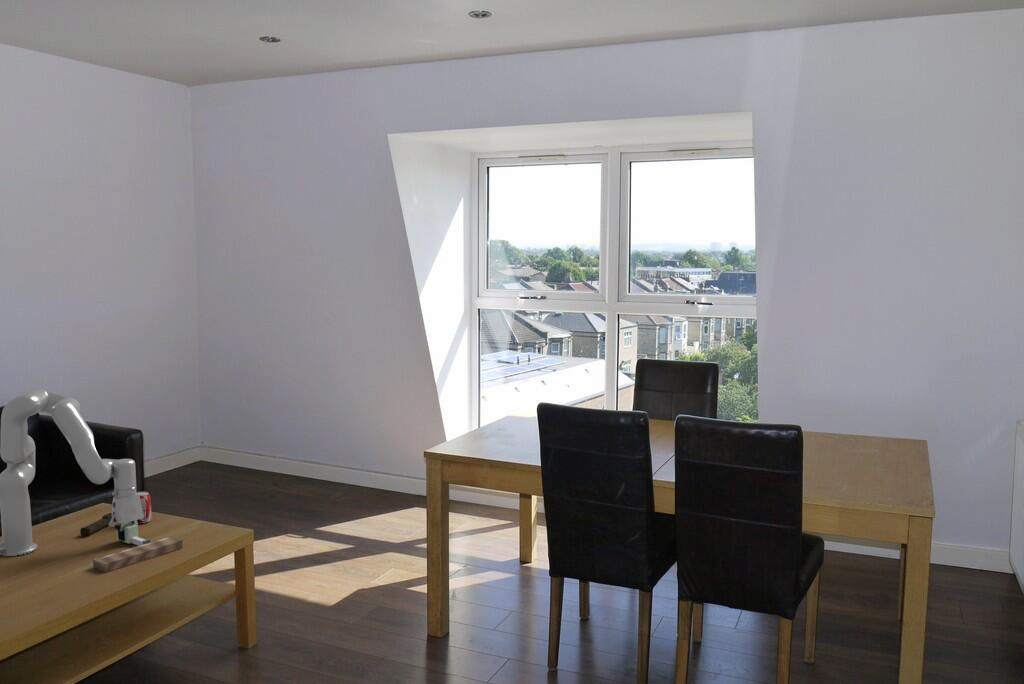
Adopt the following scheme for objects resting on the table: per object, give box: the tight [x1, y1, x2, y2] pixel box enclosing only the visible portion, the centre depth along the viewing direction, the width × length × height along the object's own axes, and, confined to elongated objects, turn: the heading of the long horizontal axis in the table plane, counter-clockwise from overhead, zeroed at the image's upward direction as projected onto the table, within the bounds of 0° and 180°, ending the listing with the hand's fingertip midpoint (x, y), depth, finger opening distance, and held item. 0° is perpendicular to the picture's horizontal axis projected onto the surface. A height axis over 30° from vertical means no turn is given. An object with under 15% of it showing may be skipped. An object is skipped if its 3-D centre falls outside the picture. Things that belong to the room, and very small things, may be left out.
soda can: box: [136, 491, 152, 524], centre depth 351 cm, size 7×7×12 cm
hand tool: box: [79, 512, 112, 537], centre depth 342 cm, size 19×4×5 cm, turn 169°
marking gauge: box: [116, 522, 151, 546], centre depth 324 cm, size 4×17×6 cm, turn 55°
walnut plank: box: [92, 535, 184, 573], centre depth 310 cm, size 30×8×3 cm, turn 145°
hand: (127, 538), depth 327 cm, fingers closed on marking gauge, 4 cm apart
